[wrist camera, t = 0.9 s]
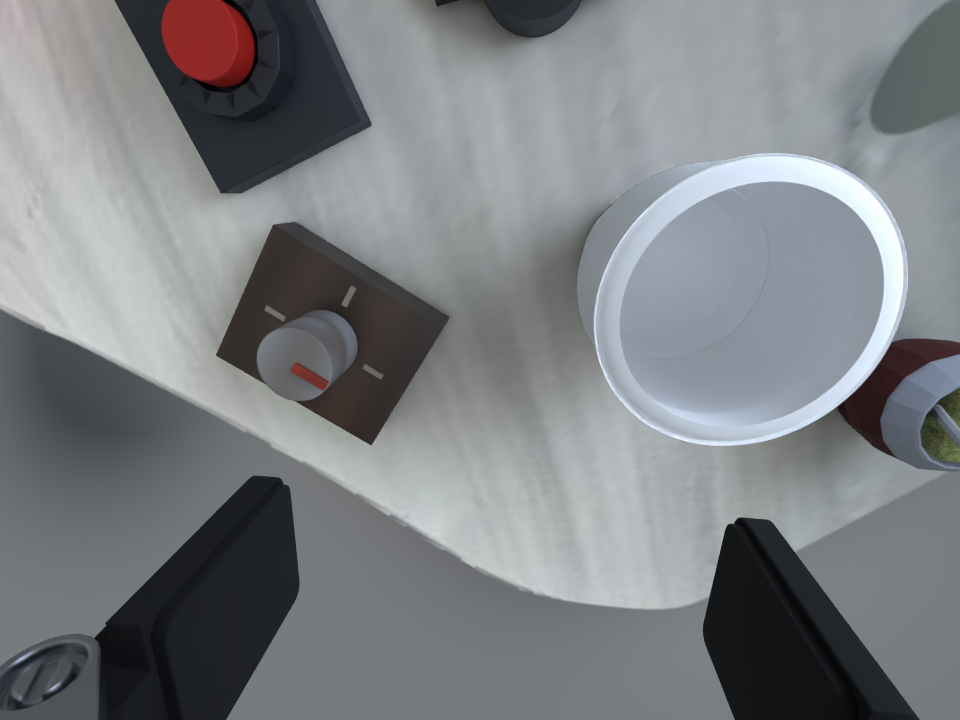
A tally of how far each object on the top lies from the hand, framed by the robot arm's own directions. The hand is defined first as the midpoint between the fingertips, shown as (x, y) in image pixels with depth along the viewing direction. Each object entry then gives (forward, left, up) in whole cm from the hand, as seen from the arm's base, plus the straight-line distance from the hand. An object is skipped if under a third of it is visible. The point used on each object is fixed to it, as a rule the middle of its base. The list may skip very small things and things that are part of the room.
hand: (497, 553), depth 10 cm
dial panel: (-5, -11, -24) cm, 27 cm away
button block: (-21, -5, -24) cm, 32 cm away
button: (-21, -5, -20) cm, 30 cm away
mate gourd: (+16, +17, -24) cm, 33 cm away
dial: (-5, -11, -21) cm, 24 cm away
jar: (+2, +9, -24) cm, 26 cm away
